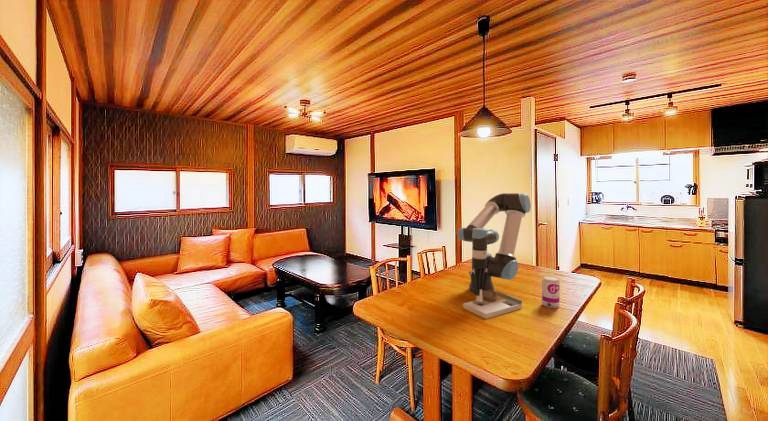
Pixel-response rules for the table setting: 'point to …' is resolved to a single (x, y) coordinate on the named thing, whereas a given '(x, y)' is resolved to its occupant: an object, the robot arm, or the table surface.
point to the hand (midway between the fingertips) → (479, 301)
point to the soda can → (550, 292)
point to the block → (489, 296)
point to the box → (494, 306)
